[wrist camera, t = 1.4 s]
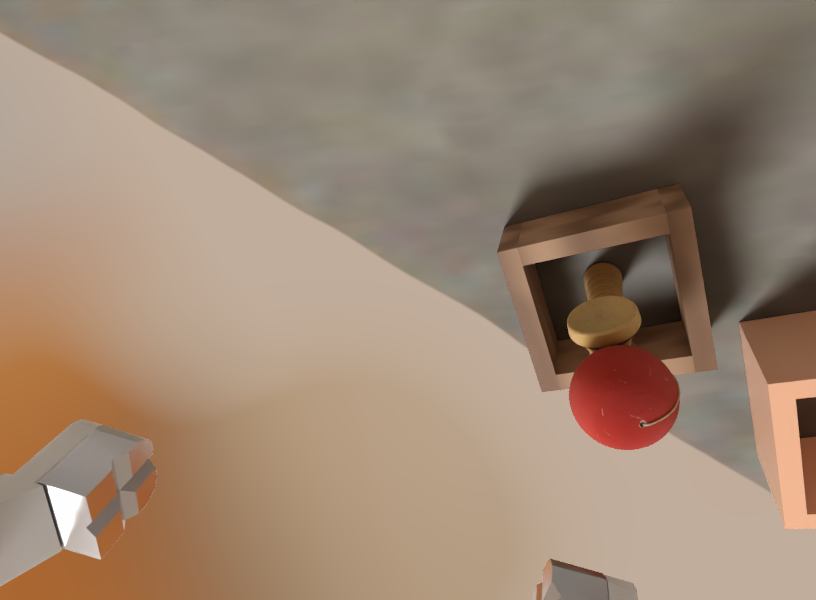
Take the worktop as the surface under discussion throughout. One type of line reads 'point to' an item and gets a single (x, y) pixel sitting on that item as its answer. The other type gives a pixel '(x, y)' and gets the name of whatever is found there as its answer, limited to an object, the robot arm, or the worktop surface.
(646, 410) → the kendama
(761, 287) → the worktop surface
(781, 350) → the stand
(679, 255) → the block
